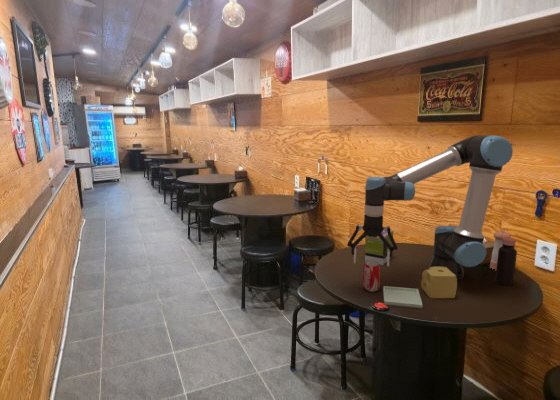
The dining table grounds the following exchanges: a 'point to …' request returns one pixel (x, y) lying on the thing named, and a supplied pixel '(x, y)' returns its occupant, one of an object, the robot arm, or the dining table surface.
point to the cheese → (439, 282)
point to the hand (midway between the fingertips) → (371, 263)
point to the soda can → (371, 276)
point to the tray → (402, 297)
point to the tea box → (377, 248)
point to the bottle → (506, 262)
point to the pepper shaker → (497, 247)
